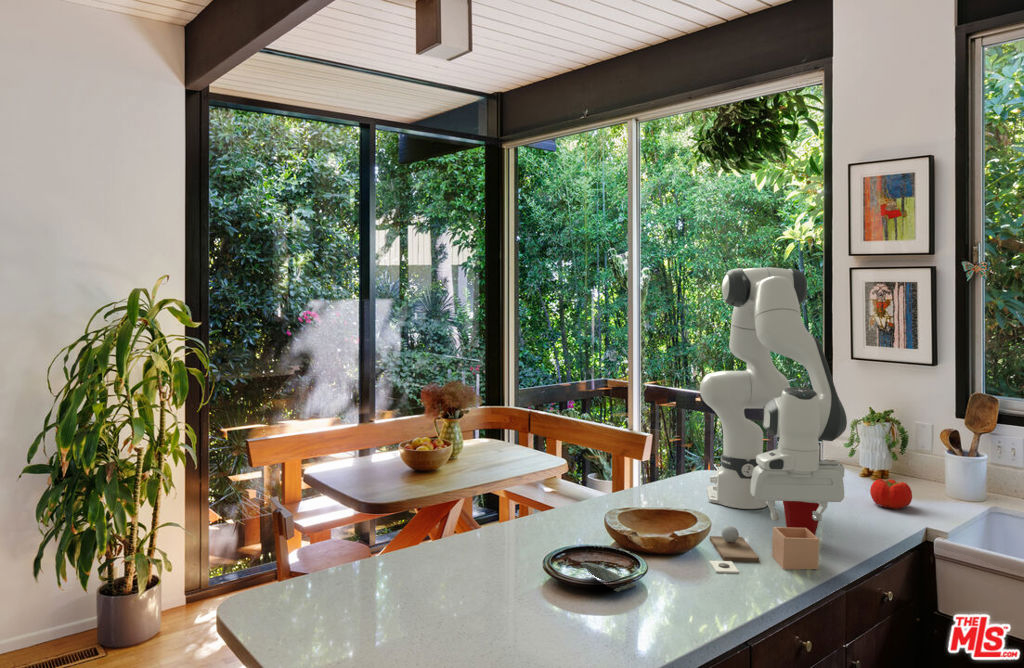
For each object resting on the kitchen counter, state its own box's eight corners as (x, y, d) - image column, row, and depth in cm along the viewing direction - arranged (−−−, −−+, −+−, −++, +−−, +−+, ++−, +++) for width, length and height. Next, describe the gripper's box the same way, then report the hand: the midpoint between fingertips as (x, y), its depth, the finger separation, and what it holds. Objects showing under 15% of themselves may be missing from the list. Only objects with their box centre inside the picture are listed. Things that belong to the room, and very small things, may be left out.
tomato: (918, 507, 207) (919, 482, 207) (898, 514, 201) (899, 487, 200) (881, 498, 216) (883, 474, 215) (862, 504, 210) (863, 479, 209)
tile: (709, 562, 163) (709, 559, 163) (731, 563, 163) (731, 560, 163) (715, 572, 157) (716, 570, 157) (738, 573, 157) (738, 570, 157)
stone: (601, 574, 158) (569, 571, 152) (606, 557, 158) (574, 553, 152) (635, 596, 150) (603, 593, 144) (641, 578, 150) (609, 574, 144)
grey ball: (719, 539, 176) (720, 523, 175) (736, 539, 175) (736, 523, 175) (723, 544, 172) (724, 528, 171) (740, 545, 171) (741, 528, 171)
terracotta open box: (771, 556, 167) (772, 527, 167) (805, 557, 167) (806, 527, 166) (783, 569, 159) (784, 538, 159) (818, 569, 159) (819, 539, 159)
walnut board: (709, 540, 178) (709, 536, 178) (741, 540, 177) (742, 536, 177) (723, 561, 164) (723, 556, 164) (759, 562, 163) (759, 557, 163)
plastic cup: (835, 545, 175) (837, 497, 174) (802, 551, 171) (804, 502, 170) (800, 531, 185) (802, 485, 184) (768, 536, 181) (770, 490, 180)
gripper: (838, 457, 164) (836, 516, 165) (749, 455, 165) (747, 514, 166) (850, 464, 158) (848, 525, 159) (757, 462, 159) (755, 522, 160)
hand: (795, 519), depth 163 cm, fingers open, 8 cm apart
